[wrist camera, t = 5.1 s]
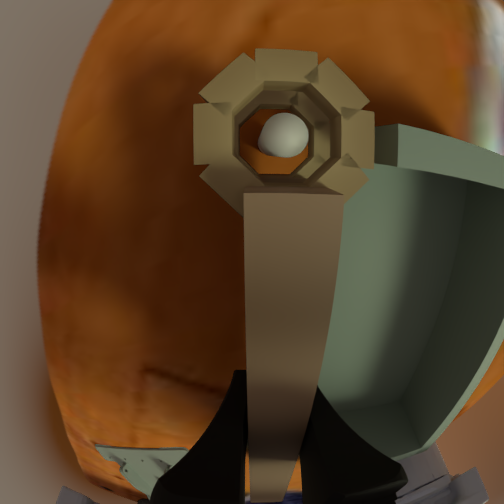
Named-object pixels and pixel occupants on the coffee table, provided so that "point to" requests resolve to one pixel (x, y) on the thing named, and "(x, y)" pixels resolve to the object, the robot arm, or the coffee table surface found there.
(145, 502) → the planter
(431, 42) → the coffee table surface
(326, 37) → the coffee table surface
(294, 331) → the brown gear-headed lever
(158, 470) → the metal bracket
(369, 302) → the sage green open box
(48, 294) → the coffee table surface
